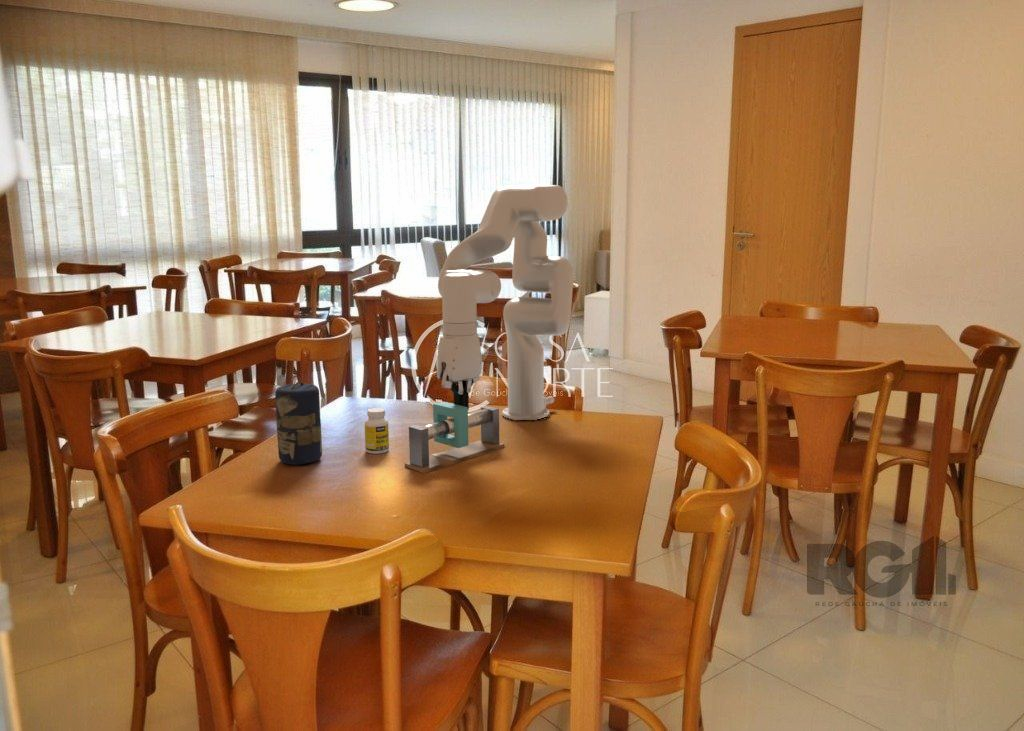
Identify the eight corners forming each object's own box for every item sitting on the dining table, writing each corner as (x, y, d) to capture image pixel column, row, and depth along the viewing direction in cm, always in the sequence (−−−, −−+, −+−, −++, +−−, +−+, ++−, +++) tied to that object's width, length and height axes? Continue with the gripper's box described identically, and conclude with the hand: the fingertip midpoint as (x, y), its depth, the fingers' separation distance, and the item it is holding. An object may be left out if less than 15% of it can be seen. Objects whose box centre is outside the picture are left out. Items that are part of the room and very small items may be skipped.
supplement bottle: (377, 455, 192) (375, 414, 190) (360, 451, 196) (358, 410, 194) (394, 450, 197) (392, 409, 195) (377, 446, 200) (376, 405, 198)
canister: (269, 463, 187) (264, 384, 184) (299, 452, 196) (294, 375, 192) (303, 469, 183) (298, 388, 179) (331, 457, 191) (327, 379, 187)
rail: (487, 443, 201) (486, 405, 199) (499, 446, 199) (499, 408, 197) (410, 467, 184) (408, 426, 182) (422, 471, 181) (421, 430, 179)
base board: (485, 441, 202) (485, 438, 202) (504, 447, 198) (504, 443, 198) (404, 466, 184) (404, 462, 184) (424, 473, 180) (424, 469, 180)
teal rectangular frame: (443, 438, 193) (442, 401, 191) (468, 445, 188) (467, 407, 186) (434, 441, 191) (433, 403, 189) (458, 448, 186) (457, 409, 184)
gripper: (471, 323, 195) (472, 401, 198) (423, 331, 184) (425, 413, 187) (495, 327, 190) (496, 406, 193) (446, 335, 179) (448, 419, 182)
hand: (461, 409), depth 190 cm, fingers closed
